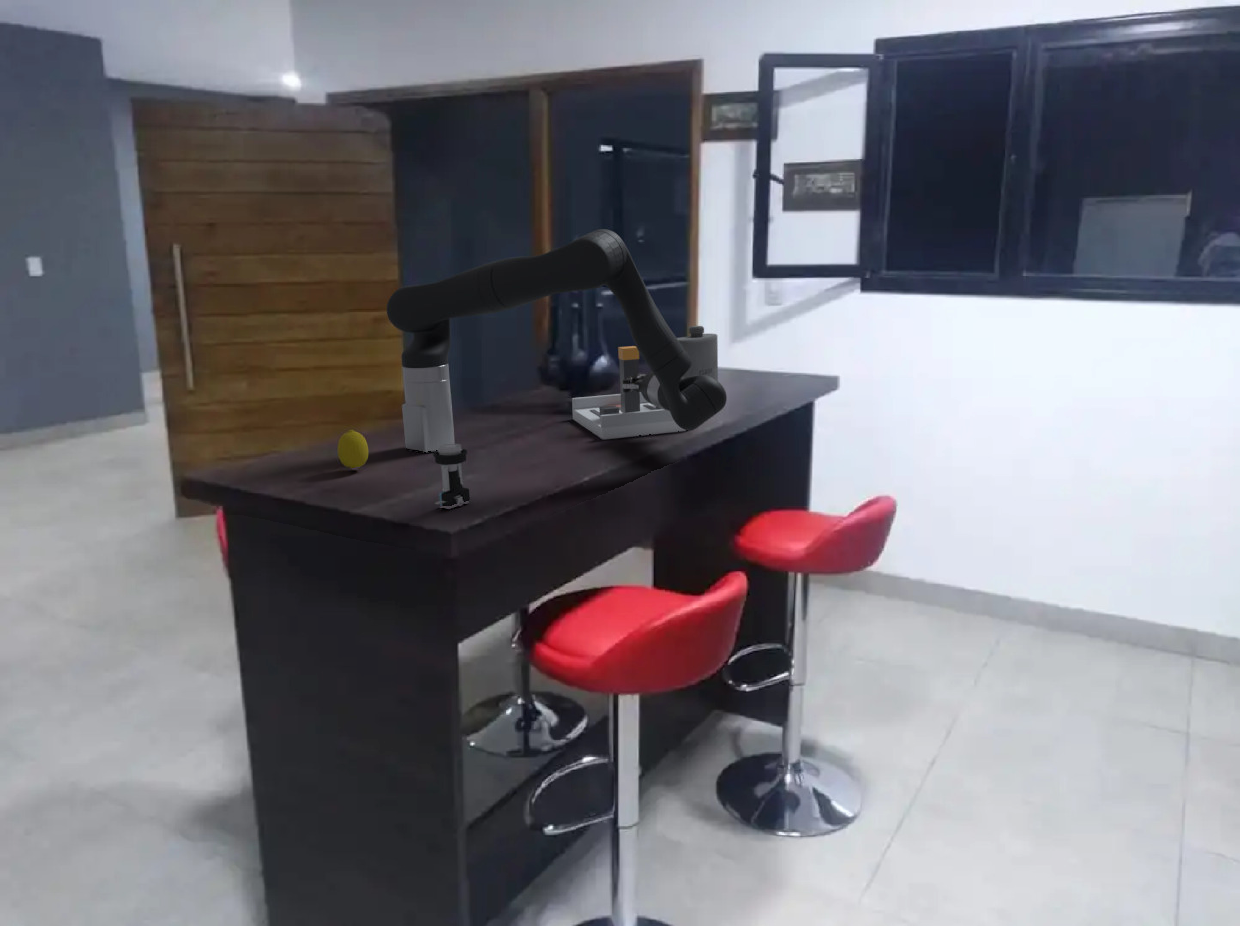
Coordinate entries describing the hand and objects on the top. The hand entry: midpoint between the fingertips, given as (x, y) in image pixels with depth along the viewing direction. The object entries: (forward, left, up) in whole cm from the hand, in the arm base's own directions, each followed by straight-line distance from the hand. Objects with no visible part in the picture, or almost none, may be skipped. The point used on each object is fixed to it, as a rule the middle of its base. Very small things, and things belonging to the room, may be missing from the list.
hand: (637, 377), depth 196 cm
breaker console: (+4, +5, -12) cm, 13 cm away
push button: (-62, -8, -12) cm, 64 cm away
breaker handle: (+3, +4, -9) cm, 10 cm away
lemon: (-55, +26, -12) cm, 62 cm away
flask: (+26, +1, -12) cm, 28 cm away
